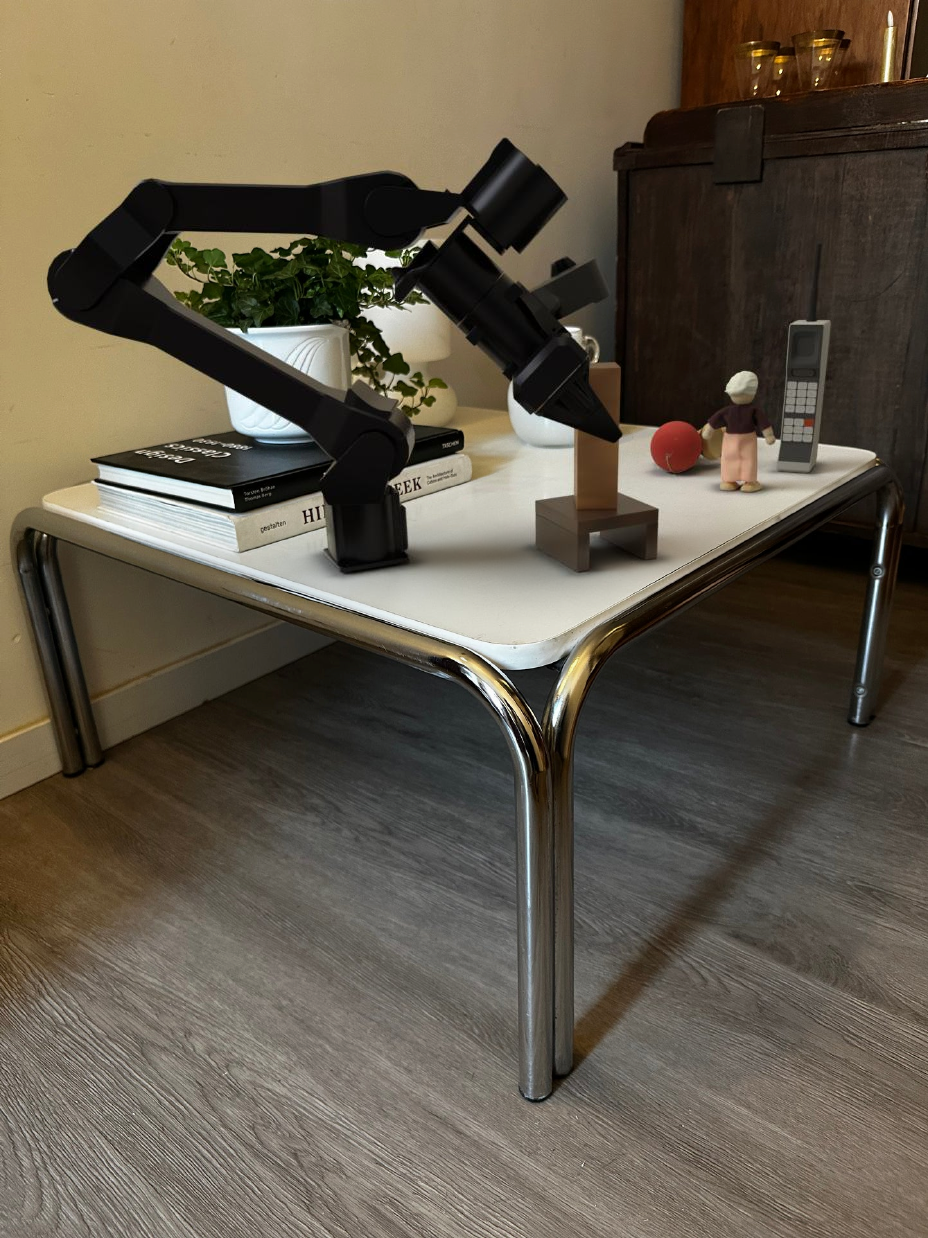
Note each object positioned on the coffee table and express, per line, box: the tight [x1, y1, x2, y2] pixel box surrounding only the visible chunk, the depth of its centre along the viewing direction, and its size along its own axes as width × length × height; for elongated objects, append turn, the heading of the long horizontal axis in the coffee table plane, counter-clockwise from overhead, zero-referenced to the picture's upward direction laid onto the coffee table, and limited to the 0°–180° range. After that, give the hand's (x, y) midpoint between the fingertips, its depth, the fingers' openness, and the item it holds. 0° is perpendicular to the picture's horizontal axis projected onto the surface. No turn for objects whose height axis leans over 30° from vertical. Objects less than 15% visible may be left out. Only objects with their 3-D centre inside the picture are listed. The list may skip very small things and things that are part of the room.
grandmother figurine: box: [702, 370, 777, 493], centre depth 101 cm, size 8×4×13 cm, turn 74°
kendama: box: [649, 420, 726, 474], centre depth 115 cm, size 8×6×18 cm
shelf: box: [534, 491, 660, 573], centre depth 83 cm, size 8×8×4 cm
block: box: [573, 361, 622, 510], centre depth 80 cm, size 4×4×12 cm
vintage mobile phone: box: [776, 242, 832, 474], centre depth 106 cm, size 4×5×25 cm
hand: (612, 429), depth 80 cm, fingers open, 8 cm apart
